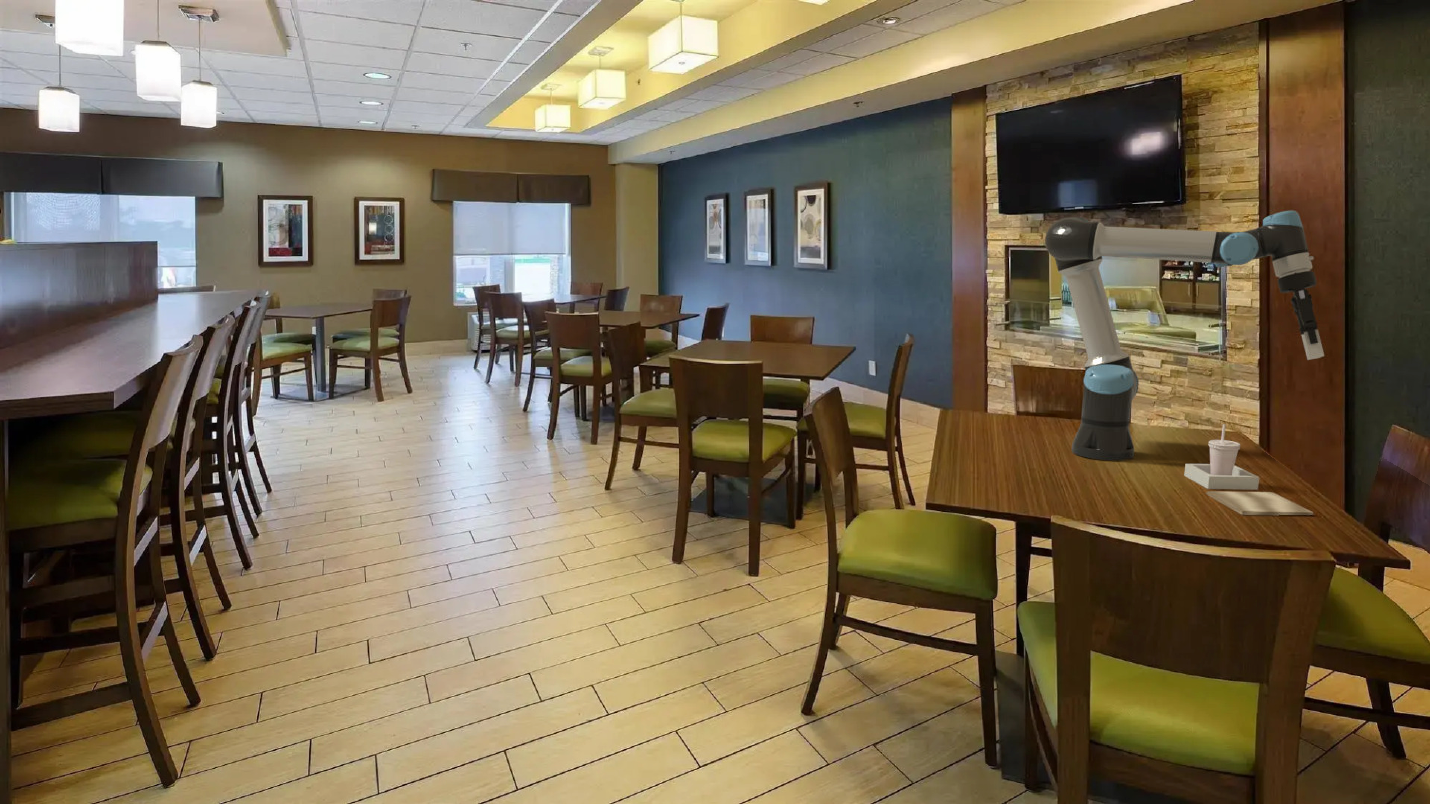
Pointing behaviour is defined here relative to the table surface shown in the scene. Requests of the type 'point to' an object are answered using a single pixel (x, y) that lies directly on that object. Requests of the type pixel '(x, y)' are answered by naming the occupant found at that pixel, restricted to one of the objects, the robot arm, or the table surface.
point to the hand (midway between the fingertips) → (1315, 358)
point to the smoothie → (1222, 455)
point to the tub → (1221, 478)
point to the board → (1258, 503)
